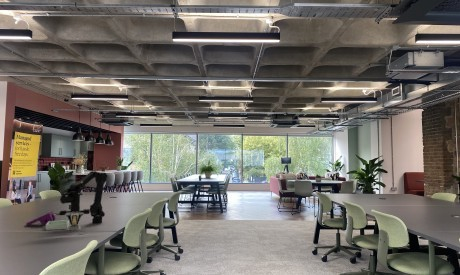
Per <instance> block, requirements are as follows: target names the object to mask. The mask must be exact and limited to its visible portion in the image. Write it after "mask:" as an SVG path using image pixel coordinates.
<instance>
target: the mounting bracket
mask: <svg viewBox="0 0 460 275" xmlns="http://www.w3.org/2000/svg"><path fill="white" fill-rule="evenodd" d="M49 221H56V216H55V214H54V212H53V211H52V210H51V211H49V212H47V213H45V214H43V215H40V216H38V217H37V218H34V219H32V220H30V221H28V222H26V223H25V225H26V227H28V226H31V225H33V224H35V223H37V222H40V223H39V224H41V226H42V227H46V224H47V223H48V222H49Z"/></svg>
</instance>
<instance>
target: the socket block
mask: <svg viewBox="0 0 460 275" xmlns="http://www.w3.org/2000/svg"><path fill="white" fill-rule="evenodd" d="M81 227H82V226H80V224H78V225H77V227H71V224H69V226H68V228H67V231H70V230H71V231H72V230H81Z"/></svg>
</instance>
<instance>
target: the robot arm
mask: <svg viewBox="0 0 460 275" xmlns="http://www.w3.org/2000/svg"><path fill="white" fill-rule="evenodd" d="M93 179H94V181H95V183H96V187H95V193H94V200H93V203H92V204H90V205H89V208H84V209H83V210H81V206H80V204H81V203H80V202H81V196H83V193H82V191H83V189H84V188H85V186H86V185H87V184H89V182H91V181H92V180H93ZM107 179H108V173H106V172H99V171H95V170H91V171H90V172H89V173H87V174H86V175H85V176H84V177H82V178H81V179H80V180H78V181H75V182H74V183H73V182H72V184H70V186H69V188H68V190H66V192H64V193H62V195H61V196H60V199H59V201H60V203H61V204H62V205H64V204H69V205H68V210H67V209H61V210H60V211H59V213H58V214H59V215H58V216H65V217H67V220H69V225H71V224H72V215H74V214H77V215H78V217H77V225H79V222H80V219H81V217H82V216H84V215H90V216H91V217H92V219H91V222H92V224H96V225H97V224H102V223H103V218H104V217H105V215H106V212H104V211H103V206H102V196H103V193H104V192H103V191H104V185H105V183H106V182H107V181H108V180H107Z"/></svg>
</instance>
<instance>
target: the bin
mask: <svg viewBox="0 0 460 275" xmlns="http://www.w3.org/2000/svg"><path fill="white" fill-rule="evenodd" d="M69 226H70V221H69V219H67V220H66V219H65V220H55V221H49V222H48V223H47V224H46V225H45V230H46V231H49V230H51V231H52V230H64V229H65V230H66V229H68V228H69Z"/></svg>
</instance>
